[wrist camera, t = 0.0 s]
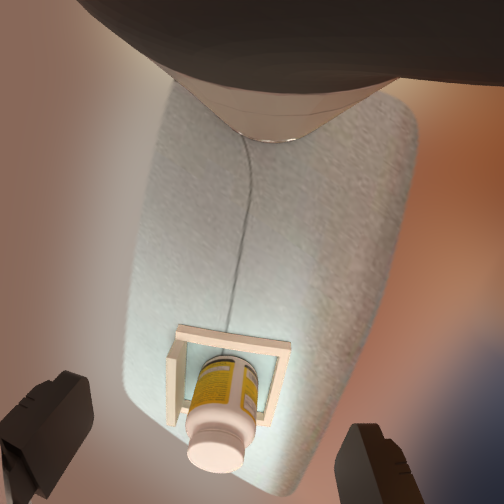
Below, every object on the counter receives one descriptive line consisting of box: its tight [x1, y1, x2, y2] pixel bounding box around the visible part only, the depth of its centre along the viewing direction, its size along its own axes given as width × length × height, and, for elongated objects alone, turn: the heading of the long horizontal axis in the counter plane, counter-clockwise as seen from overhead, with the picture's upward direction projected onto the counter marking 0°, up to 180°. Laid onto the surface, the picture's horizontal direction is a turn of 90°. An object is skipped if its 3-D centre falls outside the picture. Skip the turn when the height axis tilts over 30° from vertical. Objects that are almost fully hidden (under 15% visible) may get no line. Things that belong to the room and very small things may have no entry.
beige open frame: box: [166, 324, 291, 427], centre depth 26 cm, size 10×10×4 cm
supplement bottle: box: [185, 356, 258, 473], centre depth 23 cm, size 5×5×10 cm
